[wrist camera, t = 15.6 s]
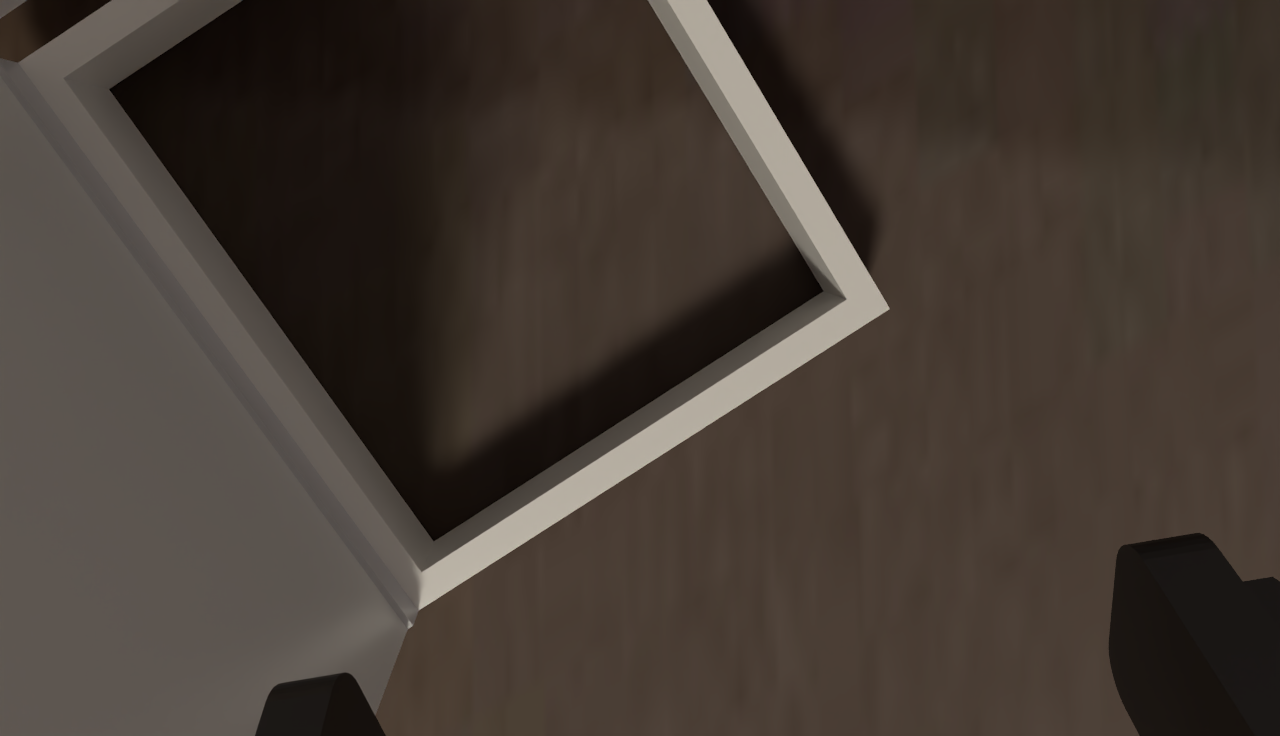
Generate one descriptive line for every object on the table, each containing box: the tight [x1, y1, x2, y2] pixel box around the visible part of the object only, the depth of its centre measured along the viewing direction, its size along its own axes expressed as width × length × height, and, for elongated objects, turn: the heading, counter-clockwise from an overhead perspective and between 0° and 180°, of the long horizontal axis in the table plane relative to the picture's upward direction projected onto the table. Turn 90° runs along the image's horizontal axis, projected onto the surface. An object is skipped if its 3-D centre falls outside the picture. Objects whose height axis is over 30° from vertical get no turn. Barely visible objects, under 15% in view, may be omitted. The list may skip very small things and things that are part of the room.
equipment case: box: [0, 0, 890, 736], centre depth 24 cm, size 19×20×21 cm
